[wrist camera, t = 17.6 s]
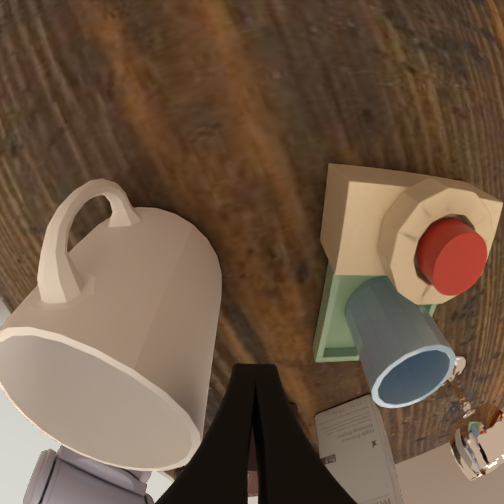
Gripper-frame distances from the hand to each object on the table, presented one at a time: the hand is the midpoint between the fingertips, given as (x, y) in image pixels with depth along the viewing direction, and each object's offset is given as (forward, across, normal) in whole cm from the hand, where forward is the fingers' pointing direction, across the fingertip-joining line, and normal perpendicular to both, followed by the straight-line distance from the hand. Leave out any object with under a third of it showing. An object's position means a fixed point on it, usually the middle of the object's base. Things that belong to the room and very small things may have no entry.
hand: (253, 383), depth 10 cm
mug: (+11, +7, +1) cm, 13 cm away
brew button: (+5, -9, -3) cm, 11 cm away
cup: (+10, -9, +4) cm, 14 cm away
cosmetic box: (+11, -10, +18) cm, 23 cm away
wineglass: (+11, -20, +13) cm, 26 cm away
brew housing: (+10, -9, -3) cm, 14 cm away
